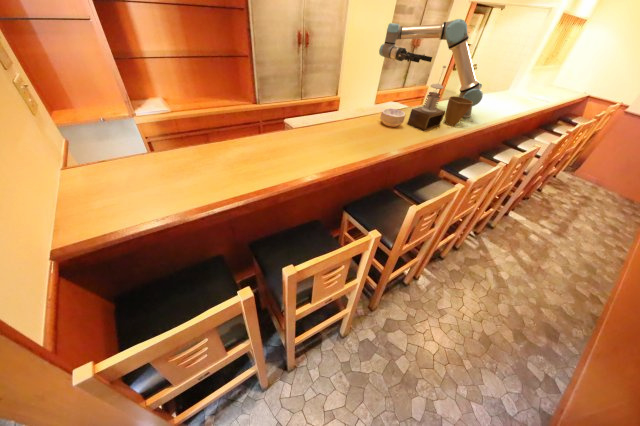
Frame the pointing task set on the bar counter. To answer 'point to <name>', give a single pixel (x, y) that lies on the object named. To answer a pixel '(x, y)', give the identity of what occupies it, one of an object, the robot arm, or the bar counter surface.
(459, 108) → the plant pot
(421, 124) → the shelf
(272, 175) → the bar counter surface
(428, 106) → the french press
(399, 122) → the paper bowls
